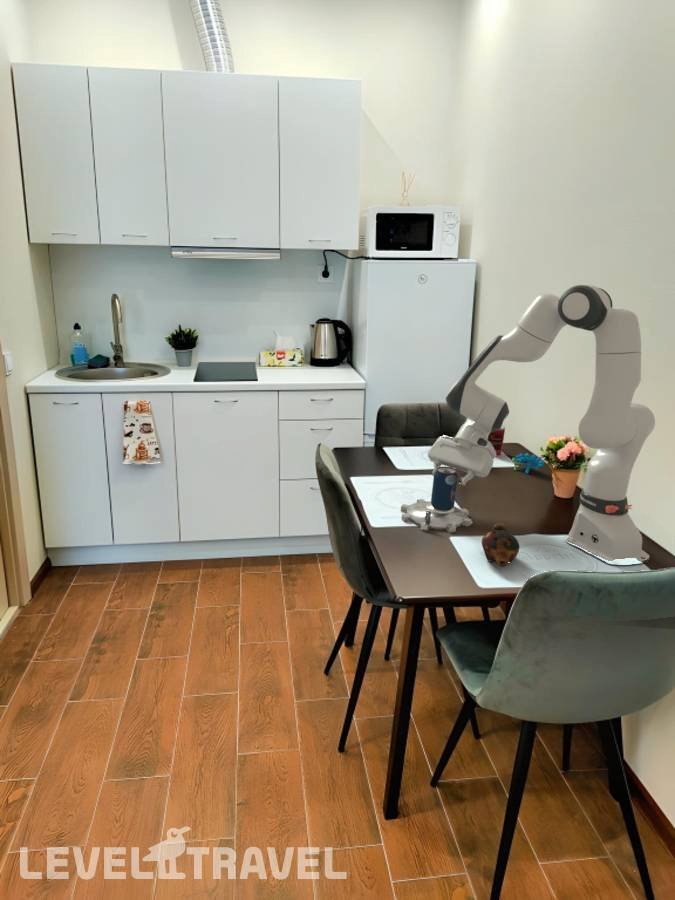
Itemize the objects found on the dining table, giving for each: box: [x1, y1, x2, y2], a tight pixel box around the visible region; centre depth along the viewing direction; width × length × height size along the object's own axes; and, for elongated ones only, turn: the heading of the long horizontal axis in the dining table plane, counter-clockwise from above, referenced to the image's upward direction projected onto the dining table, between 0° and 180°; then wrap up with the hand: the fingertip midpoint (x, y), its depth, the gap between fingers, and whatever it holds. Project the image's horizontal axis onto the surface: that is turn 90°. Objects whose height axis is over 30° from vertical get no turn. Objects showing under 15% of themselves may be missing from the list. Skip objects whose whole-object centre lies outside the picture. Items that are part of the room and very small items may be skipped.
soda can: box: [430, 466, 458, 511], centre depth 202 cm, size 7×7×12 cm
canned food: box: [487, 424, 506, 456], centre depth 262 cm, size 8×8×11 cm
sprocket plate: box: [400, 498, 472, 534], centre depth 200 cm, size 21×21×4 cm
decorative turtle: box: [481, 522, 521, 567], centre depth 176 cm, size 10×15×8 cm, turn 178°
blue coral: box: [511, 452, 545, 475], centre depth 244 cm, size 11×6×10 cm
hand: (447, 479), depth 203 cm, fingers open, 8 cm apart
